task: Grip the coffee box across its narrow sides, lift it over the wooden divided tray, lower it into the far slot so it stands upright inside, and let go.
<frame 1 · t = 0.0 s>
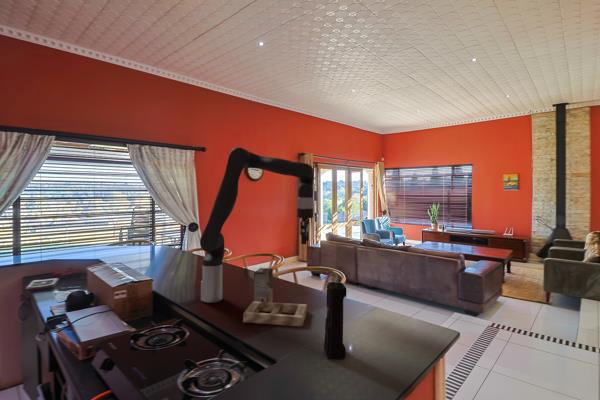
hand: (305, 242, 140), 29 cm above the worktop, tool pointing down, fingers open, 8 cm apart
wooden divided tray: (276, 317, 128), on the worktop
portable radio: (333, 353, 99), on the worktop
coffee box: (263, 304, 142), on the worktop
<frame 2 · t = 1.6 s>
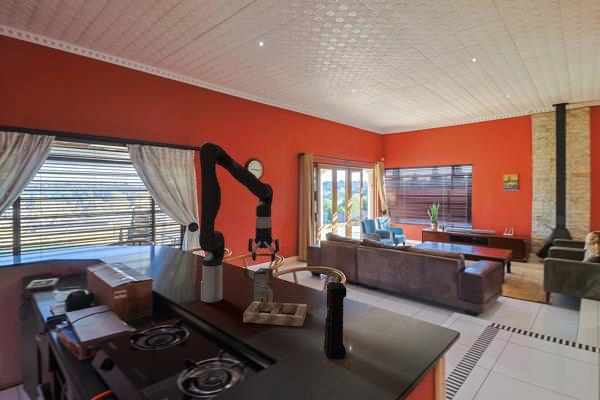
hand: (263, 261, 141), 20 cm above the worktop, tool pointing down, fingers open, 8 cm apart
nothing on the worktop moved.
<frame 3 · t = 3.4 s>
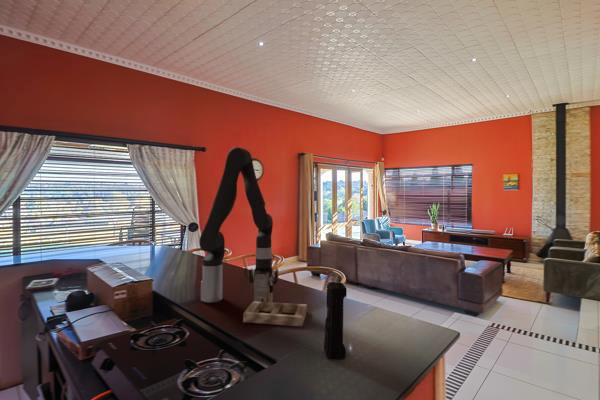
hand: (263, 292, 142), 6 cm above the worktop, tool pointing down, fingers closed on coffee box, 6 cm apart
coffee box: (263, 304, 142), on the worktop, touching gripper
everything else where it was.
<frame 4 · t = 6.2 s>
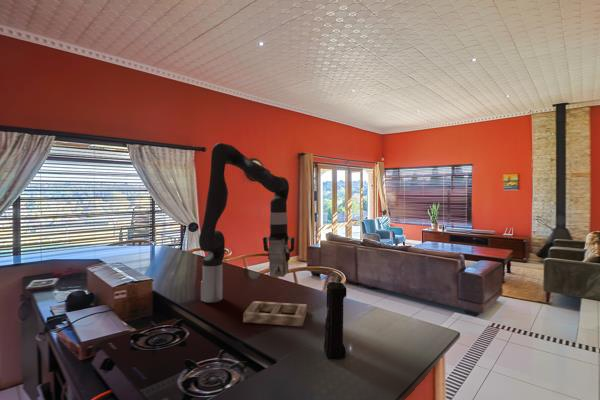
hand: (279, 260, 132), 23 cm above the worktop, tool pointing down, fingers closed on coffee box, 6 cm apart
coffee box: (279, 274, 132), point 17 cm above the worktop, touching gripper
everything else where it was.
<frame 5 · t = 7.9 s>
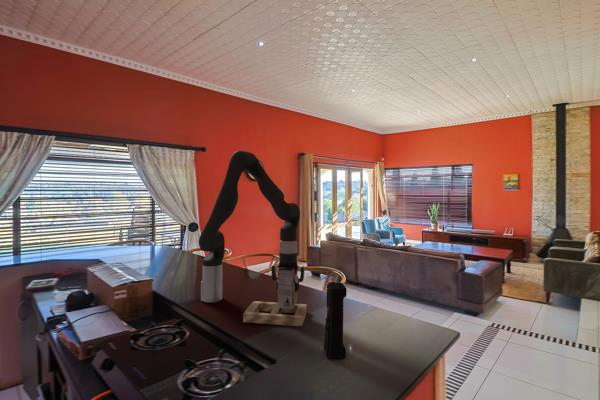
hand: (287, 290, 127), 11 cm above the worktop, tool pointing down, fingers closed on coffee box, 6 cm apart
coffee box: (287, 305, 127), point 5 cm above the worktop, touching gripper
everything else where it was.
when the fingers open (7 cm above the worktop, at t = 9.3 s): coffee box drops 1 cm, resting in wooden divided tray.
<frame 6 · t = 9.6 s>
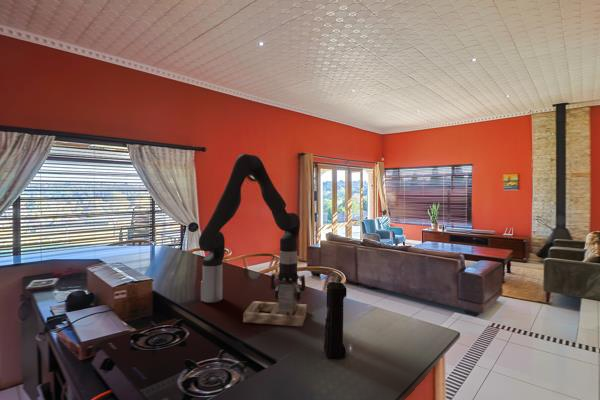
hand: (288, 299, 127), 8 cm above the worktop, tool pointing down, fingers open, 8 cm apart
coffee box: (287, 318, 127), resting in wooden divided tray
everything else where it was.
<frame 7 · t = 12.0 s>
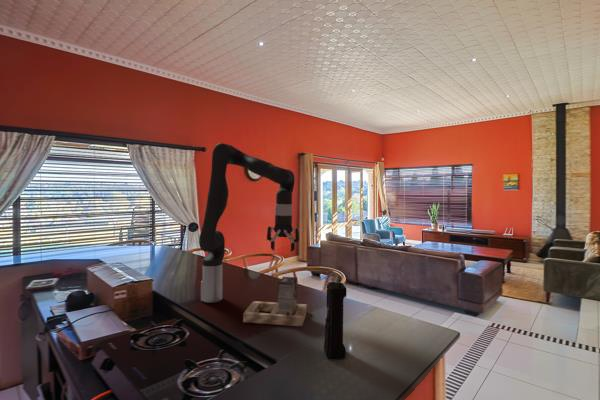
hand: (282, 250, 135), 26 cm above the worktop, tool pointing down, fingers open, 8 cm apart
nothing on the worktop moved.
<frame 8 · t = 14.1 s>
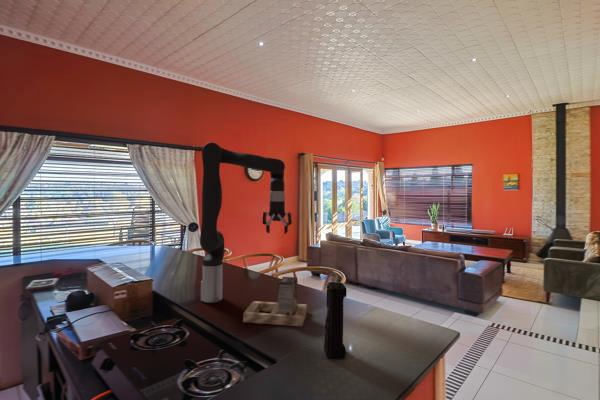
hand: (277, 233, 150), 32 cm above the worktop, tool pointing down, fingers open, 8 cm apart
nothing on the worktop moved.
at the end: coffee box 0.1 cm from the target spot on the wooden divided tray, point 0.0 cm above the wooden divided tray's base; coffee box tilted 0°; the gripper is holding nothing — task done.
